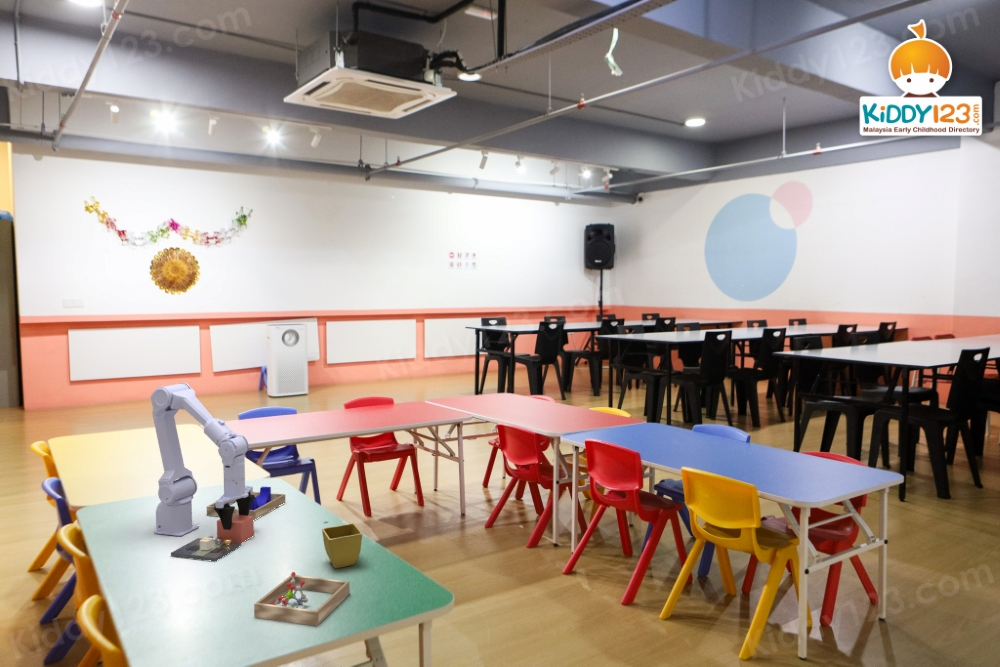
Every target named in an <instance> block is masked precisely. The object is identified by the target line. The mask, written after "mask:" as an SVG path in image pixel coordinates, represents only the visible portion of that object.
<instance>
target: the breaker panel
mask: <svg viewBox="0 0 1000 667" xmlns="http://www.w3.org/2000/svg"><path fill="white" fill-rule="evenodd" d="M203 538H204V537H203ZM203 538H202V537H198V538H195V539H194V540H191V541H190V542H188V543H186V544H185V545H182V546H181V547H179V548H177V549H175V550H173V551H171V552H170V557H171V556H172V557H173V558H179V557H181V559H188V558H193V559H192V560H196V559H201V560H200V561H204V560H211V561H210V562H212V561H216V562H218V561H219V560H218V559H220V558H221V559H223V558H224V557H226V556H228V555H229V554H230V552H231V551H233V550H234V551H236V550H237V549H239V548H240V547H239V546H241V547H242V544H241V543H239V542H231V539H225V540H224V541H222V538H217V537H215V538H214V537H213V536H206V538H213V548H211V549H209V550H200V540H202V539H203ZM238 547H239V548H238ZM236 548H237V549H236ZM235 549H236V550H235ZM234 551H233V552H234ZM228 553H229V554H228ZM231 553H232V552H231ZM227 554H228V555H227ZM225 555H226V556H225ZM223 556H224V557H223ZM222 557H223V558H222ZM221 559H220V560H221ZM217 560H218V561H217Z"/></svg>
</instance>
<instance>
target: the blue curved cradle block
mask: <svg viewBox="0 0 1000 667" xmlns="http://www.w3.org/2000/svg"><path fill="white" fill-rule="evenodd" d="M259 492H260V495H258V496H256V497H255V498H254V500H253V502H252V504H251V507H250V510H256V509H258V508H259V507H261V506H263V505H265V504H267V503H268V502H270V501H271V493H272V487H271V486H261V487H260V488H259Z"/></svg>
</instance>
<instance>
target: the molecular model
mask: <svg viewBox="0 0 1000 667" xmlns="http://www.w3.org/2000/svg"><path fill="white" fill-rule="evenodd" d="M291 575H292V580H291V581H290V583H289V582H288V583H287V584H286V586H287V587H288V593H286V594H285V595H284V596H283V597H281V596H279V597H278V600H277V601H276V602H274V603H271V604H270V605H280V604H283V606H285V607H288V605H287V603H288V602H289V601H290V600H292V599H293V600H295V601H296V606H295V608H299V605H303V603H304V604H306V603H308V601H309V599H308V597H307V595H306V594H305V593H303V589H302V586H303V585H304V584H305V581H304V580H302V581H301V584H300V586H297V585H296V584H295V580H294V576H295V575H297V574H296V572H295V571H292V572H291V574H290V576H291ZM291 584H294V585H291ZM290 586H291V590H290ZM293 590H294V591H293ZM298 591H299V592H300V595H301V596H300V598H299V597H298V598H297V596H296V594H297V592H298Z"/></svg>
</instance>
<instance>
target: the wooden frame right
mask: <svg viewBox="0 0 1000 667" xmlns="http://www.w3.org/2000/svg"><path fill="white" fill-rule="evenodd" d="M291 580H292V575H291V574H290V575H289V576H288V577H287V578H285V579H284V580H283V581H282V582H281V583H279V584H278V585H277V586H275V587H274V588H273V589H272V590H270V591H269V592H268V593H267V594H265V595H264V596H262V597H261V598H260V599H258V600H257V601H256V602H254V605H253V612H254V614H253V615H254V618H259V619H264V620H272V621H273V620H274V621H281V622H287V623H294V624H295V623H296V624H300V625H308V626H309V625H310V626H315V627H318V626H319V625H320V624H321V623H322V622H323V621H324V620H325V619H326V618H327V617H328V616H329V615H330V614H331V613H332V612H333V611H334V610H335V609H336V608H337V607H338V606H339V605H340V604H341V603H342V602H343V601H344V600H345V599H346V598H348V596H349V595H350V594H351V592H350V585H351V584H350V581H345V580H340V579H339V580H338V579H330V578H323V577H322V578H321V577H313V576H306V575H297V574H295V576H294V580H295V584H296V585H297V586H300V584H301V581H302V580H304V581H305V584H304V585H303V586H302V591H303V590H305V591H313V592H321V593H328V594H332V595H330V597H329V598H327V599H326V600H325V601H324V602H323V603H322V604H321V605H320V606H319V607H318V608H317V609H316V610H312V609H307V608H305V609H304V608H299V607H298V608H296V607H290V606H287V607H285V606H284V605H279V604H277V605H270V604H271V603H274V602H276V601H277V600H278V597H279V596H281V597H282V596H286V595H287V592H288V587H287V586H286V584H287V583H288V582H289V583H290V581H291ZM291 585H294V584H291ZM290 591H291V586H290Z"/></svg>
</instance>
